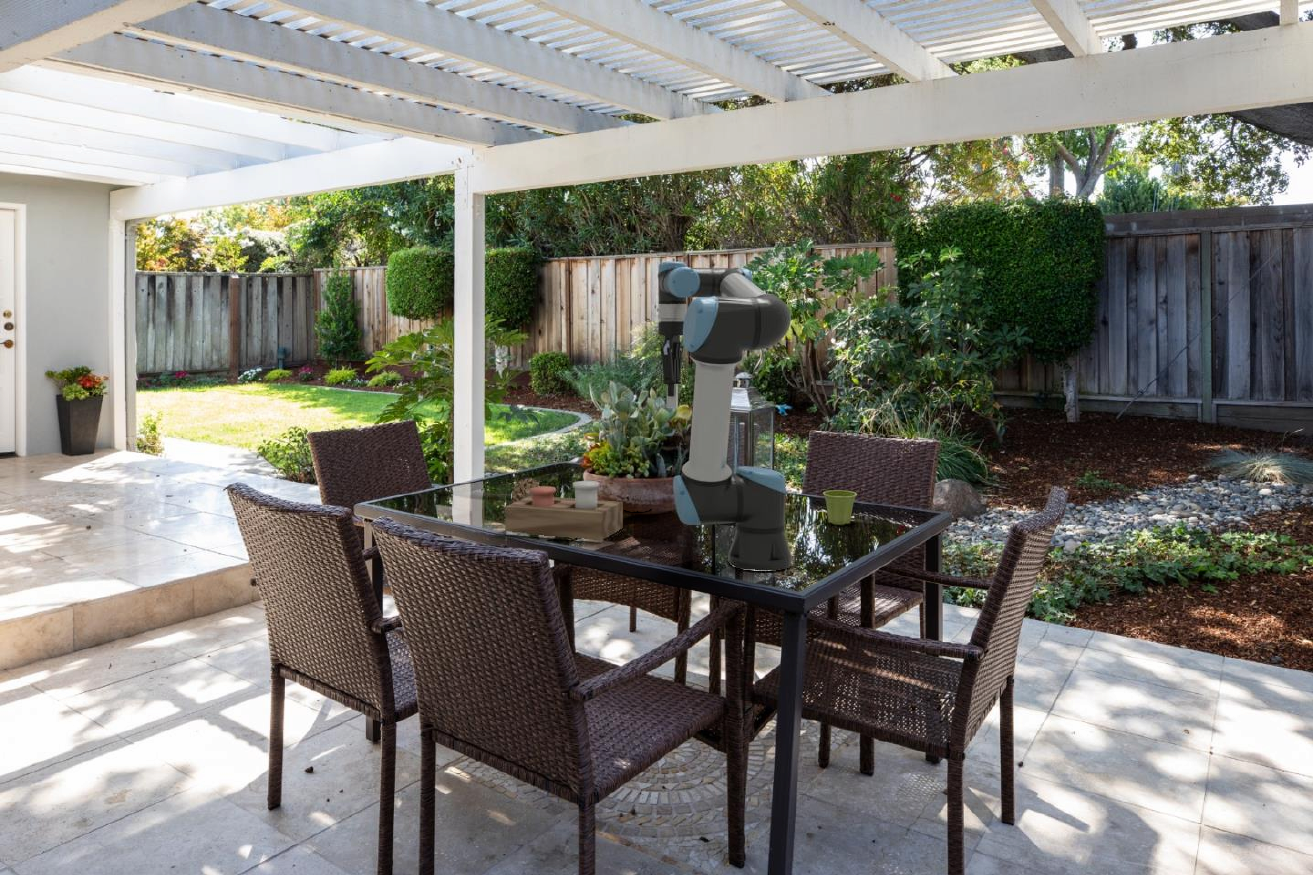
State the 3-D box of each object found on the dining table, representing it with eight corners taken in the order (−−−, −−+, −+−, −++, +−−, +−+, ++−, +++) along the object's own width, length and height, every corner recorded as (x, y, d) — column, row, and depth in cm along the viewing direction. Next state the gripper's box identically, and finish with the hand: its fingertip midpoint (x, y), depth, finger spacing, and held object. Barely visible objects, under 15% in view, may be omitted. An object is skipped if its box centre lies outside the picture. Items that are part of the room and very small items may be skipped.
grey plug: (593, 526, 247) (593, 486, 246) (569, 524, 249) (568, 484, 248) (603, 521, 254) (603, 481, 252) (579, 519, 256) (579, 480, 255)
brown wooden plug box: (601, 543, 242) (600, 513, 241) (505, 535, 251) (504, 506, 250) (622, 529, 257) (622, 501, 256) (532, 522, 266) (531, 495, 265)
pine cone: (512, 506, 289) (511, 475, 287) (543, 505, 290) (542, 474, 289) (510, 522, 267) (509, 488, 266) (543, 521, 268) (543, 487, 267)
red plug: (549, 531, 251) (548, 491, 250) (525, 529, 254) (525, 490, 252) (560, 525, 258) (560, 487, 257) (537, 524, 261) (536, 485, 259)
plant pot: (856, 527, 260) (856, 497, 259) (822, 525, 262) (822, 495, 261) (855, 520, 269) (856, 490, 268) (822, 518, 271) (823, 489, 270)
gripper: (666, 320, 254) (666, 405, 257) (651, 320, 242) (651, 410, 245) (692, 320, 252) (692, 406, 255) (678, 320, 240) (678, 411, 243)
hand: (672, 408), depth 250 cm, fingers closed
